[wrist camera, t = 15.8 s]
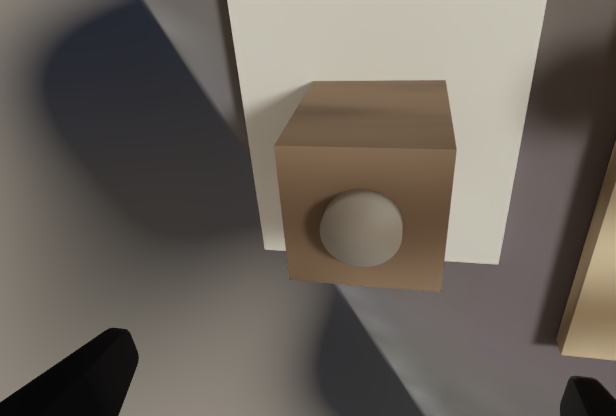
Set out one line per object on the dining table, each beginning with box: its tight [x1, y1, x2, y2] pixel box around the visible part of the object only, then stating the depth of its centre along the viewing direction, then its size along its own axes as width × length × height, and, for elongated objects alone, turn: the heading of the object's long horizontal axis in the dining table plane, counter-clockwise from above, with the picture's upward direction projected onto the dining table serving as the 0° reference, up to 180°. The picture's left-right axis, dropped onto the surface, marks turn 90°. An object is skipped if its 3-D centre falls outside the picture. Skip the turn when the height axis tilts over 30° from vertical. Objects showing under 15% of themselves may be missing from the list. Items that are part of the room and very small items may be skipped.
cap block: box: [274, 80, 457, 292], centre depth 16 cm, size 5×5×7 cm
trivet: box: [227, 0, 547, 264], centre depth 19 cm, size 12×11×1 cm
